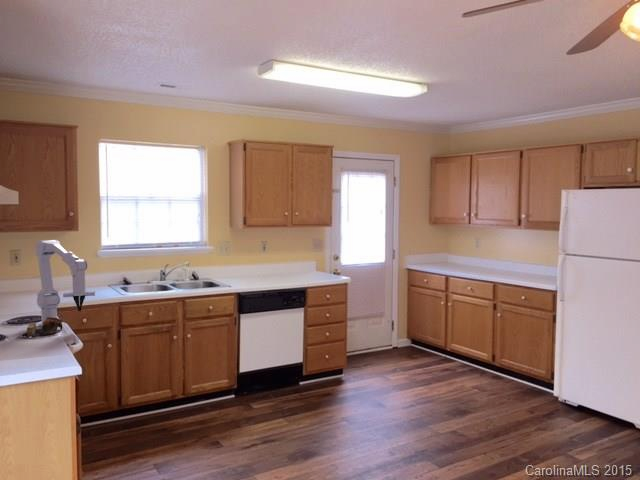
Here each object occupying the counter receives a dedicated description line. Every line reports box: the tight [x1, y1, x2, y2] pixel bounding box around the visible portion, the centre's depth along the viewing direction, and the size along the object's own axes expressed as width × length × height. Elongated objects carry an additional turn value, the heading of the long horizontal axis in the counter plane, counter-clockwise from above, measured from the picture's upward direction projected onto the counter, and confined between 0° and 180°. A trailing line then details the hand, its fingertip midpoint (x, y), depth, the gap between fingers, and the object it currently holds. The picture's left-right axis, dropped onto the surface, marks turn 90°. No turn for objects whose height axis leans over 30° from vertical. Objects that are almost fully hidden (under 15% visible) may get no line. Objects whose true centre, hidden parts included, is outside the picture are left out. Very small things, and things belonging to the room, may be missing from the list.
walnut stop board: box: [26, 322, 37, 337], centre depth 259 cm, size 12×2×4 cm, turn 22°
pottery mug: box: [40, 317, 63, 334], centre depth 262 cm, size 12×10×8 cm
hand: (79, 310), depth 266 cm, fingers closed
